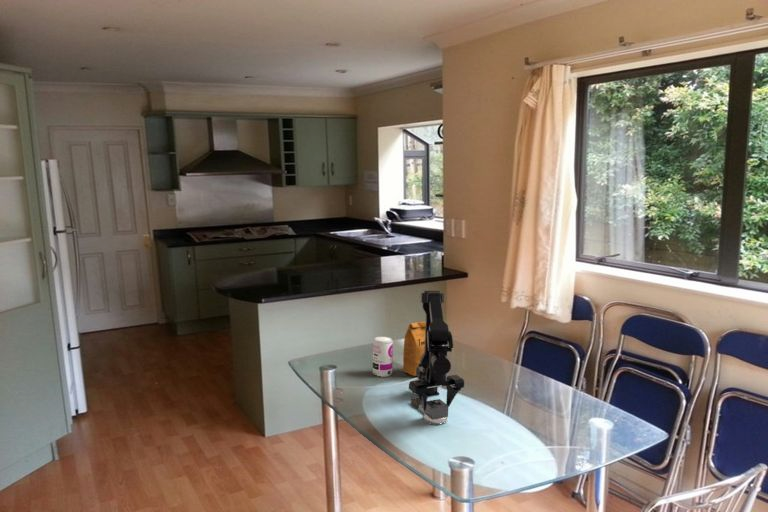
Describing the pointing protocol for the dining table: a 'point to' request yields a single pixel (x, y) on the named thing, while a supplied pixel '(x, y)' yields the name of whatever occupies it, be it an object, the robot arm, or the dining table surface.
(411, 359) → the coffee package
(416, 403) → the ratchet
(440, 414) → the socket
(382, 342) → the supplement can
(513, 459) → the dining table surface
